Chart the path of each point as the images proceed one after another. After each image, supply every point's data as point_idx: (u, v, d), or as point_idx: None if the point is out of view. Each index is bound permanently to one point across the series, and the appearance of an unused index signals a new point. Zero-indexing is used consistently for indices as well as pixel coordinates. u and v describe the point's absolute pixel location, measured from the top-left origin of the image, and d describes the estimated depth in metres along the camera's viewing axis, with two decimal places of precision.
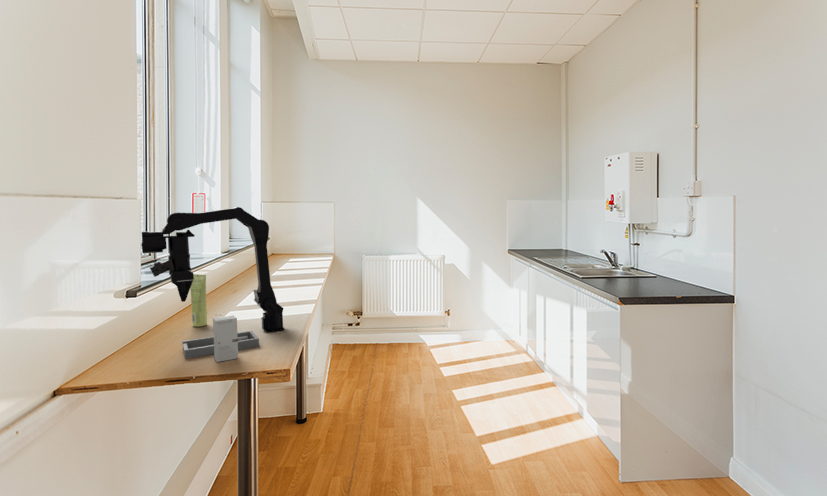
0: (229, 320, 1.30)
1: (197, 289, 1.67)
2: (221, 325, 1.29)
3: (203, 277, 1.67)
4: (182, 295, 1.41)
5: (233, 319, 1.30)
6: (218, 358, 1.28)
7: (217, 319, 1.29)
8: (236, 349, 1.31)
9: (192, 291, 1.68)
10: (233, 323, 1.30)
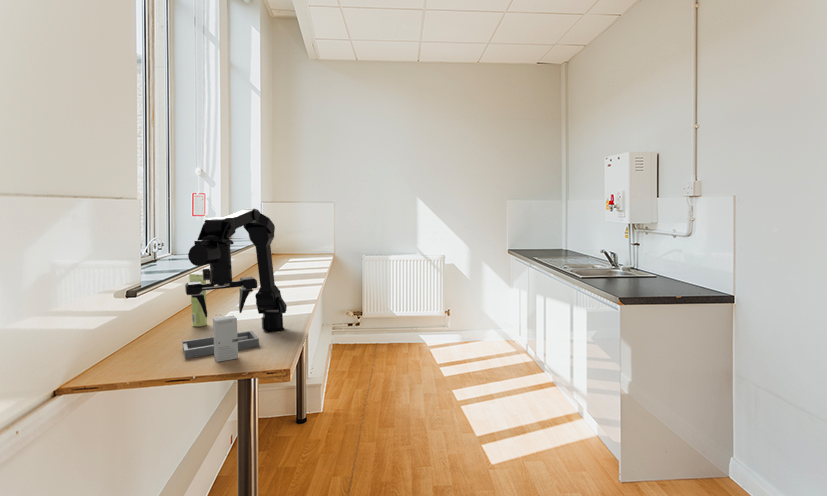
0: (229, 320, 1.30)
1: None
2: (221, 325, 1.29)
3: None
4: None
5: (233, 319, 1.30)
6: (218, 358, 1.28)
7: (217, 319, 1.29)
8: (236, 349, 1.31)
9: None
10: (233, 323, 1.30)
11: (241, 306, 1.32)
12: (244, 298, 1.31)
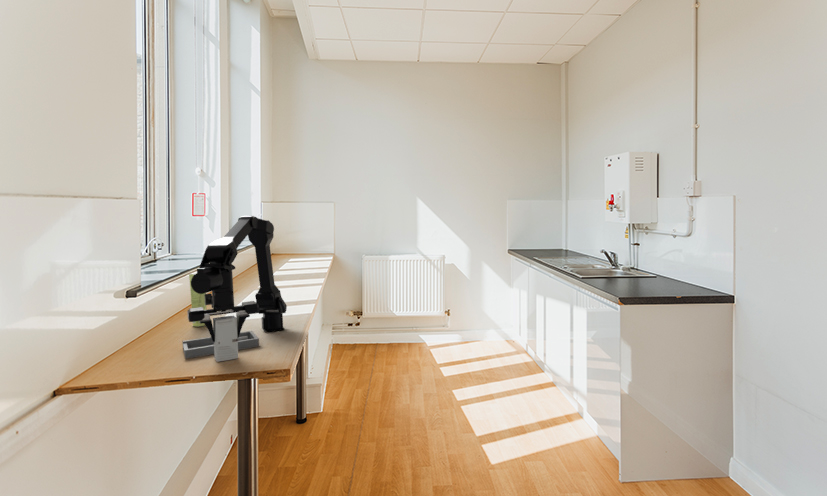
0: (229, 320, 1.30)
1: None
2: (221, 325, 1.29)
3: None
4: None
5: (233, 319, 1.30)
6: (218, 358, 1.28)
7: (217, 319, 1.29)
8: (236, 349, 1.31)
9: (192, 291, 1.68)
10: (233, 323, 1.30)
11: (238, 332, 1.32)
12: (241, 324, 1.31)
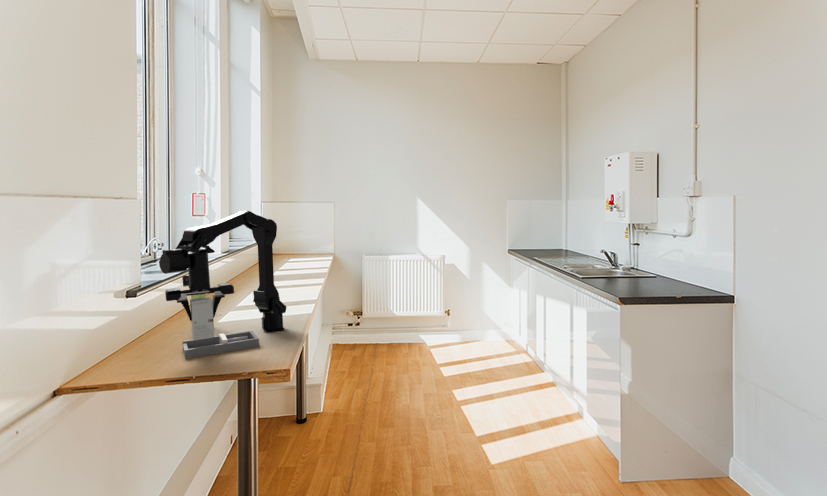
0: (205, 301, 1.37)
1: None
2: (197, 306, 1.36)
3: None
4: None
5: (209, 300, 1.38)
6: (195, 337, 1.36)
7: (193, 300, 1.37)
8: (212, 328, 1.38)
9: None
10: (209, 304, 1.38)
11: (214, 311, 1.39)
12: (216, 304, 1.38)
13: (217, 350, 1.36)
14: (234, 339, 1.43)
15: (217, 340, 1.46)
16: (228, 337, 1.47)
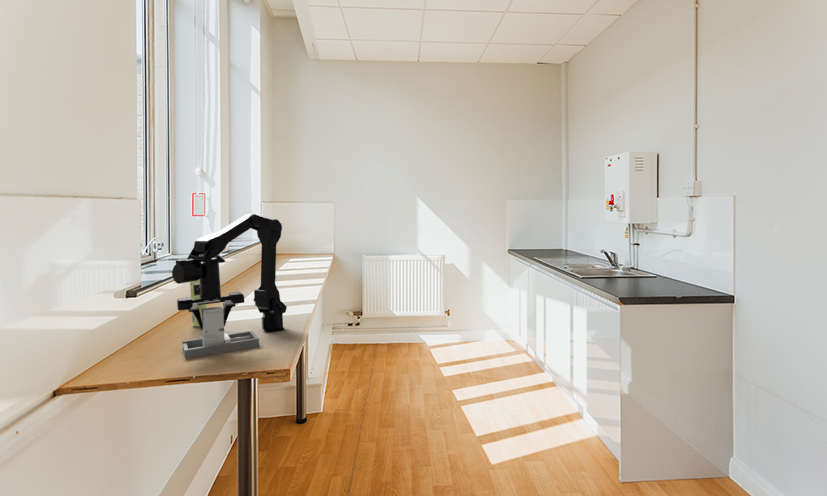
0: (216, 310, 1.39)
1: None
2: (208, 315, 1.38)
3: None
4: None
5: (220, 309, 1.40)
6: None
7: (205, 309, 1.38)
8: (222, 338, 1.40)
9: (192, 291, 1.68)
10: (220, 313, 1.40)
11: (224, 320, 1.41)
12: (227, 313, 1.40)
13: (217, 350, 1.36)
14: (237, 339, 1.44)
15: None
16: None
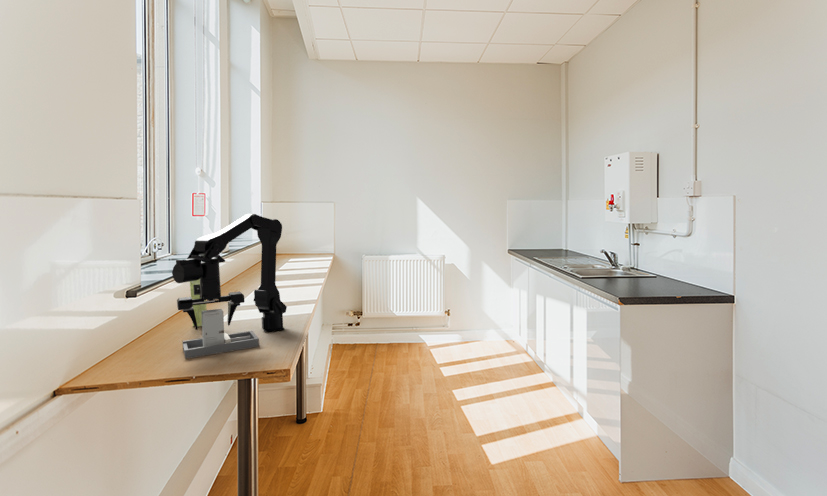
0: (216, 313, 1.39)
1: None
2: (208, 317, 1.38)
3: None
4: None
5: (220, 312, 1.39)
6: None
7: (205, 312, 1.38)
8: (222, 340, 1.40)
9: (192, 291, 1.68)
10: (220, 316, 1.40)
11: (229, 319, 1.42)
12: (232, 312, 1.41)
13: (217, 350, 1.36)
14: (237, 339, 1.44)
15: None
16: None
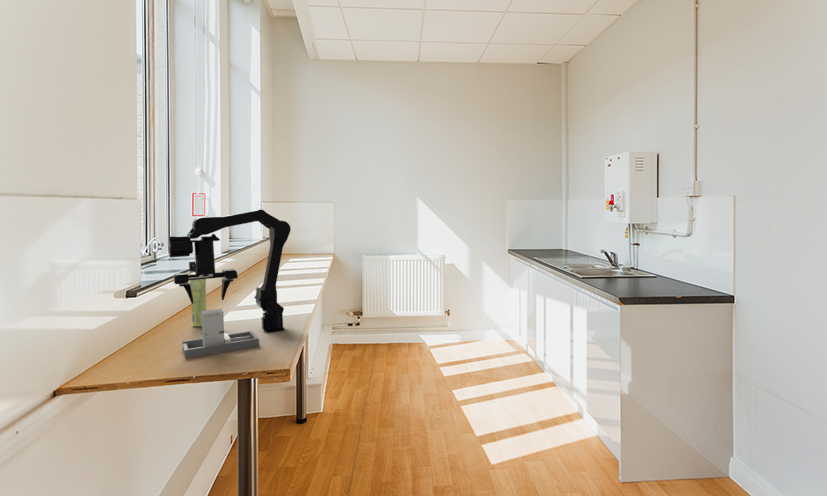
0: (216, 313, 1.39)
1: (197, 289, 1.67)
2: (208, 318, 1.38)
3: None
4: (189, 297, 1.46)
5: (220, 312, 1.39)
6: None
7: (205, 312, 1.38)
8: (222, 340, 1.40)
9: (192, 291, 1.68)
10: (220, 316, 1.39)
11: (223, 294, 1.51)
12: (226, 287, 1.50)
13: (217, 350, 1.36)
14: (237, 339, 1.44)
15: None
16: None
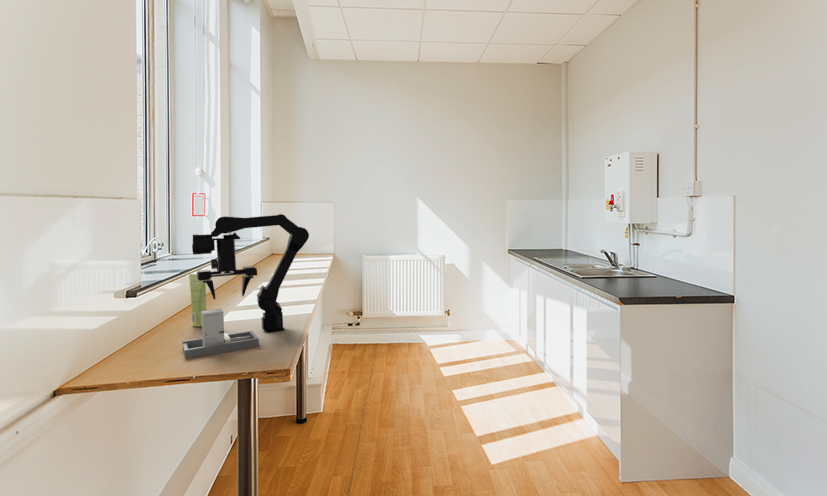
0: (216, 313, 1.39)
1: (197, 289, 1.67)
2: (208, 318, 1.38)
3: None
4: (211, 293, 1.53)
5: (220, 312, 1.39)
6: None
7: (205, 312, 1.38)
8: (222, 340, 1.40)
9: (192, 291, 1.68)
10: (220, 316, 1.39)
11: (243, 290, 1.56)
12: (246, 284, 1.56)
13: (217, 350, 1.36)
14: (237, 339, 1.44)
15: None
16: None
